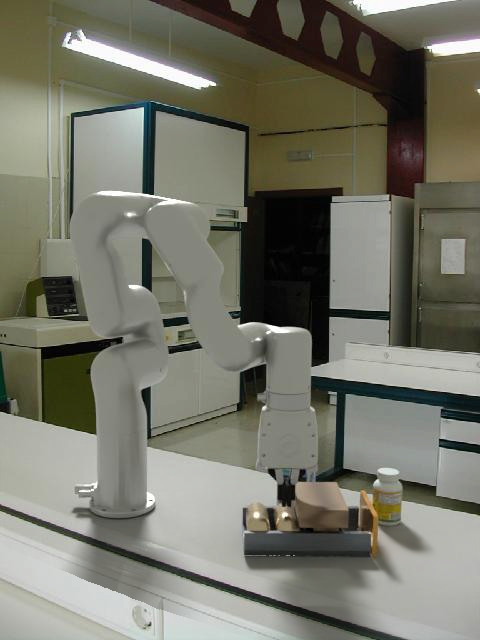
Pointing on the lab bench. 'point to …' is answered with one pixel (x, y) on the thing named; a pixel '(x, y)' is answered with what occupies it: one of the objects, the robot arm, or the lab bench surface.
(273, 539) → the roller frame
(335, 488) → the walnut slab
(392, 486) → the supplement bottle
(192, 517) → the lab bench surface
